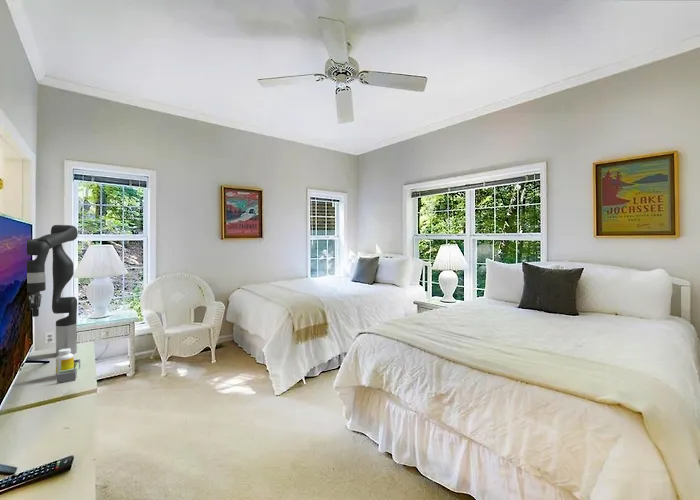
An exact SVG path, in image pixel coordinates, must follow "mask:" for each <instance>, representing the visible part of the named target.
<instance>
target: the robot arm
mask: <svg viewBox="0 0 700 500" xmlns="http://www.w3.org/2000/svg"><path fill="white" fill-rule="evenodd" d="M78 231H79V230H78V229H77V227H76V226H74V225H68V224H54V225H52V226H51V229H50V234H45V235H42V236H40V237H37V238H32V239H28V240H27V239H26V241H27V254H28V255H27V256H36V258H35V259H32V260H31V259H30V260H27V261H26V262H27V292H26V293H30V295H28V302H29V308H30V310H31V316H32V318H36V317H39V315H40V310H39V309H40V307H41V304H42V303H41V301H42V296H43V295H42V294H41V292H44V291H46V272H45V269H46V268H45V267H46V265H45V264H46V261H47V258H48V255H49V252H50V250H51V249H52V269H51V270H52V300H51V310H52V311H51V312H52V313H53V314H56V315H57V314H58V315H59V314H68V315H66V316H65V317H62V318H59V319H57V320H56V321H55V356H56V357H57V356H58V355H59V353H58V351H59V350H61V349H67V348H70V349H71V352H70V353H71V354H73V355H74V354H77V352H78V351H77V350H78V347H77V346H78V345H77V344H78V343H77V342H78V341H77V340H78V339H77V335H78V334H77V333H78V332H77V329H78V328H77V318H78V316H77V314H78V299H77V297H76V296H64V297H62V292H63V290H64V289H65V287H66V286H67V284H68V283H69V282H70V281H71V280H72V278H73V276H74V261H73V260H72V258H70V256H69V255H68V254H67V253H66V251H65V250H64V247H63V244H65V243H67V242H68V243H69V242H73V241H75V240H77V238H78V234H79V232H78Z"/></svg>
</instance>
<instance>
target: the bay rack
mask: <svg viewBox="0 0 700 500" xmlns="http://www.w3.org/2000/svg"><path fill="white" fill-rule="evenodd" d="M80 369H81V359H74V369H69V370H63V371H59V374H58V375H57V377H56V381H57V382H56V383H57V384H63V383H68V382H74V381H76V380H77V377H78V374H79V373H80V372H79V371H80Z"/></svg>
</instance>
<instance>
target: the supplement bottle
mask: <svg viewBox="0 0 700 500" xmlns="http://www.w3.org/2000/svg"><path fill="white" fill-rule="evenodd" d="M70 352H71V349H70V348H67V349H61V350H59V351H58V353H59V355H58V356H56V357H55V376H56V378H57V375H58V374H59V371H63V370H69V369H74V360H75V359H74V358H75V357H74V354H71V353H70Z"/></svg>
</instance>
